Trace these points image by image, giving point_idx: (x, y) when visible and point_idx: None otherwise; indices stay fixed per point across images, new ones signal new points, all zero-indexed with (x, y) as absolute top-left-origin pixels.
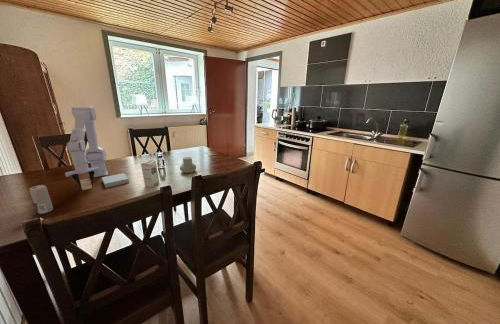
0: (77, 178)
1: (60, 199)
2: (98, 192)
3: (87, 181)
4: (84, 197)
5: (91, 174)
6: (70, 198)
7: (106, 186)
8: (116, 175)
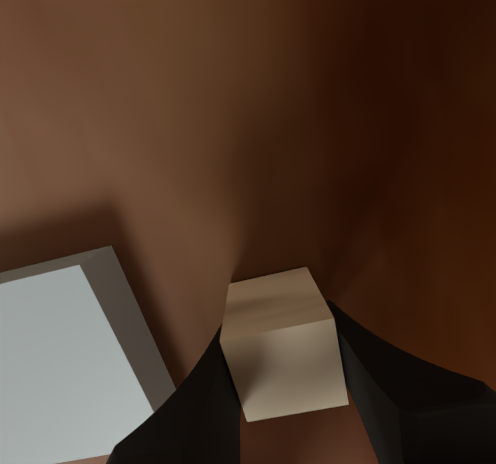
0: (395, 380)
1: (473, 112)
2: (141, 144)
3: (253, 334)
4: (252, 52)
5: (148, 449)
6: (386, 93)
7: (92, 252)
8: (43, 443)
